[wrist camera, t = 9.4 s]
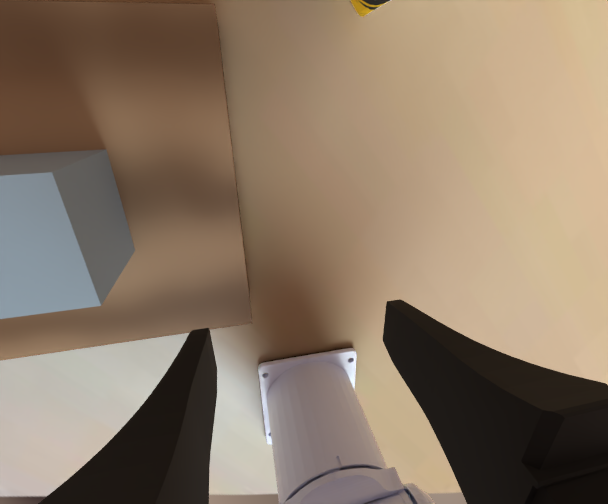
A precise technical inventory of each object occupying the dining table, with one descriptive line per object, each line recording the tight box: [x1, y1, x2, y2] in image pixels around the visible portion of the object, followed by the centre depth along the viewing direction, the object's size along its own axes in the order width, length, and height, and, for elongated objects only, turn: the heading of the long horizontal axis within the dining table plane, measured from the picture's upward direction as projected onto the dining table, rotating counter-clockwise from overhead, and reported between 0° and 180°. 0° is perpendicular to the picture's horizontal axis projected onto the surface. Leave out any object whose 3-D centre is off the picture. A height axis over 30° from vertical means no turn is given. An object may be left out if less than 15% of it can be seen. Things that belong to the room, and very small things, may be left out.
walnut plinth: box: [0, 0, 252, 360], centre depth 16 cm, size 16×16×3 cm
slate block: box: [0, 149, 135, 319], centre depth 13 cm, size 5×5×5 cm
